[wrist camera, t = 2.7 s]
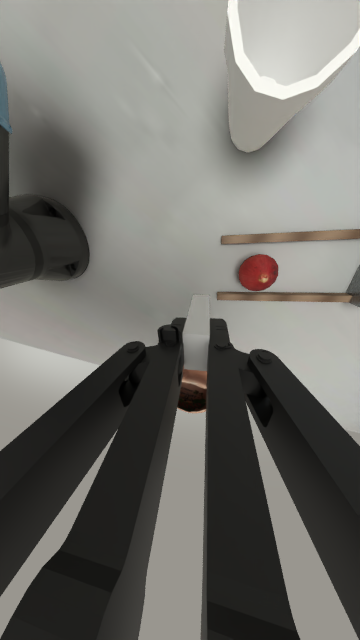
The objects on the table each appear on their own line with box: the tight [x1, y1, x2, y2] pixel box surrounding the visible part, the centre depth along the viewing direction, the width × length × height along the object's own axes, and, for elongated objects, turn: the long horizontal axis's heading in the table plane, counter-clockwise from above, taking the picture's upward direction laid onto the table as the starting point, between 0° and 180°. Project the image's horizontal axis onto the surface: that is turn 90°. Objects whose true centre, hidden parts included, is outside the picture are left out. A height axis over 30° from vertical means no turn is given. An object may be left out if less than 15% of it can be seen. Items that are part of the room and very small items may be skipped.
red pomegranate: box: [239, 254, 278, 291], centre depth 25 cm, size 6×6×8 cm
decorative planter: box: [177, 366, 207, 413], centre depth 34 cm, size 20×12×14 cm, turn 74°
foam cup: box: [224, 0, 360, 153], centre depth 14 cm, size 10×9×13 cm
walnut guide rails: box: [217, 229, 360, 302], centre depth 27 cm, size 23×11×2 cm, turn 92°
